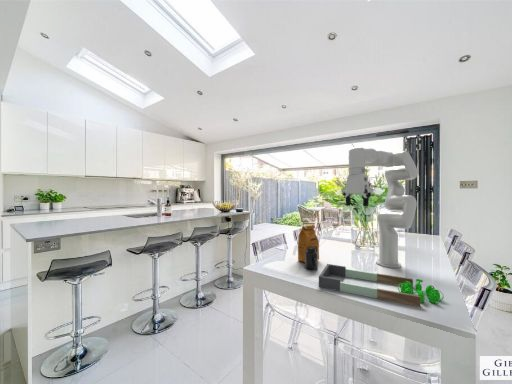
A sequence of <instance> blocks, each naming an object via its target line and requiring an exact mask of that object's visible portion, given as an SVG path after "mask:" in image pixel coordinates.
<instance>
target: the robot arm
mask: <svg viewBox="0 0 512 384" xmlns="http://www.w3.org/2000/svg"><path fill="white" fill-rule="evenodd" d="M366 166H367V167H385V168H386V169H385V171H384V177H385V180H386V184H387V185H388V190H387V194H386V197H385V202H384V207H385V209H386V210H382V211H380V212H378V213H377V217H376V218H377V219H376V220H377V224H378V235H379V236H378V240H379V241H378V244H379V245H378V246H379V247H378V249H379V250H378V257H379V259H377V260H376V262H375V263H376V264H377V265H378V266H381V267H385V268H391V269H393V268H394V269H398V268H399V269H400V268H401V267H402V264H401V262H399V235H398V232H397V230H396V229H402V230H408V229H410V228H411V227H412V225H413V222H414V218H415V214H416V210H417V204H418V203H417V200H416V199H417V198H416V197H415V196H413V195H410V194H405V192H406V189H405V187H404V185H403V184H402V183H401V182H400V181H412V180H414V179H416V178H417V177H418V171H419V170H418V168H417V166H416V164H415V161H414V160H413V158H412V156H411V155H410V153H409V152H408V151H407V150H399V151H394V152H389V151H383V150H376V149H374V148H371V147H369V148H364V147H361V146H359V147H352V148H350V149H349V150H348V175H347V178H346V183H345V184H346V185H345V187H344V188H342V189H341V192H342V195H343V197H344V198H345V206H351V205H352V198H351V197H352V195H362V196H363V198H362V200H363V201H362V205H363V207H369V202H370V201H369V199H370V197H371V196H372V195H373V193H374V191H375V189H374V188H372V187H370V186H369V180H368V176H367V174H366V172H368V169H367V168H366Z"/></svg>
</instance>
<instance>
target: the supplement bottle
mask: <svg viewBox="0 0 512 384" xmlns="http://www.w3.org/2000/svg"><path fill="white" fill-rule="evenodd" d="M315 251H316V247H314V246H308V247H307V251H306V252H305V262H304V268H305V269H306V270H308V271H318V269H319V262H318V261H319V260H318V254H317V252H315Z"/></svg>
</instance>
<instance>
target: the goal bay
mask: <svg viewBox="0 0 512 384" xmlns="http://www.w3.org/2000/svg"><path fill="white" fill-rule="evenodd" d="M345 277H348V278H354V279H361V280H366V281H373V282H377V272H370V271H364V270H358V269H351V268H346V269H345ZM339 292H343V293H349V294H354V295H360V296H365V297H370V298H373V299H374V298H375V299H378V298H377V287H372V286H367V285H361V284H356V283H355V284H354V283H351V282H350V283H349V282H344V281H343V282H340V291H339Z"/></svg>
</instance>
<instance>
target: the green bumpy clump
mask: <svg viewBox="0 0 512 384" xmlns="http://www.w3.org/2000/svg"><path fill="white" fill-rule="evenodd" d="M405 282H407V283H405ZM405 282H404V283H402V285H401V284H399V285H397V290H398V292H401V293H406V294H412V295H415V294H416V293H417V296H420V297H421V304H422V303H424V302H425V296H426V298H427V300H428V302H430V303H432V304H435V305H438V304H439V302H440V301H442V300H444V293H443V292H442V291H441V290H439V289H435V287H434V286H433V285H431V284H430V285H427V286H426V288H425V290H423V288H422V284H421V283H423V282H424V279H420V278H416V283H415V286H414V285H413V286H412V284H411V283H410V282H408V281H405ZM399 287H400V289H399ZM414 287H415V288H414ZM422 290H423V291H422ZM440 293H441V294H440ZM441 295H442V297H441Z"/></svg>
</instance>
